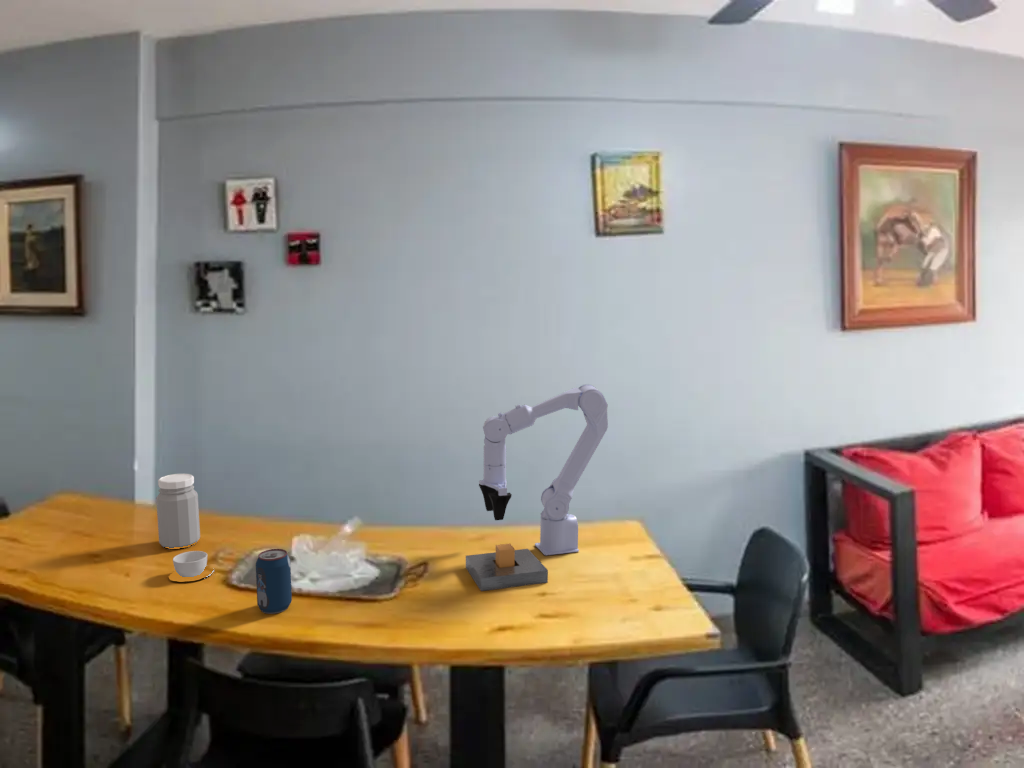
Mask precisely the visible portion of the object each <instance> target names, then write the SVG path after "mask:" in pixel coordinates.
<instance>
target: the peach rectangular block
mask: <svg viewBox="0 0 1024 768" xmlns="http://www.w3.org/2000/svg"><path fill="white" fill-rule="evenodd" d="M515 550H516V549H515V548H514V546H513V545H512V544H511V543H502V544H501V543H500V544H495V552H496V566H497V567H498V568H504V567H513V566H515Z"/></svg>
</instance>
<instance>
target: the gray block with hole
mask: <svg viewBox="0 0 1024 768" xmlns="http://www.w3.org/2000/svg"><path fill="white" fill-rule="evenodd" d="M465 569H466V570H467V572H468V573H469V575H470V576H471V578H472V580H473V581H474V583H475V584H476V586H477V587H478V589H479V590H480V592H484V591H493V590H499V589H501V590H502V589H507V588H509V589H510V588H516V587H524V586H531V585H538V584H545V583H546V584H547V583H549V581H548V580H549V577H548V576H549V574H548V573H549V570H548V568H547V567H546V566H545V565H544V564H543V563H542V562H541V561H540V560H539V559H538V558H537V556H535V554H533V552H531V550H530V549H529V548H521V549H515V566H513V567H504V568H498V567H497V566H496V551H495V552H486V553H477V554H476V553H475V554H469V555H465Z"/></svg>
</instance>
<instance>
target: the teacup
mask: <svg viewBox="0 0 1024 768" xmlns="http://www.w3.org/2000/svg"><path fill="white" fill-rule="evenodd" d="M172 563H173V567H174V571H175V570H176V572H177V573H178V574H179V575H180V576H182V577H194V576H197V575H200V574H201V573H202V572H203V571H204V569H205V567H206V566H208V565H207V563H208V553H207V552H205V551H201V550H191V551H184V552H181V553H179V554H177V555H175V556H173V558H172ZM213 572H214V573H215V569H214V570H213V571H212V573H213ZM212 573H211V574H212ZM214 573H213V574H214ZM211 574H209V575H208V576H209V577H210V576H211ZM213 574H212V575H213ZM208 576H206V577H207V578H208Z"/></svg>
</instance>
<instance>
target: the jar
mask: <svg viewBox="0 0 1024 768" xmlns="http://www.w3.org/2000/svg"><path fill="white" fill-rule="evenodd" d="M194 483H195V476H194V475H193V474H191V473H173V474H168V475H164V476H161V477H160V478H159V479H157V484H158V486H157V487H159V489H158V492H159V493H158V495H157V496H156V498H155V499H156V501H155V502H156V515H157V529H158V543H159V544H160V545H161V547H163V548H164V547H169V548H174V547H183V546H188V545H191V544H193V543H195V542H196V543H197V542H198V541H199V540H200V538H201V529H200V528H201V527H200V510H199V494H198V492H197V490H195V489H194V488H195V485H194Z"/></svg>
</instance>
